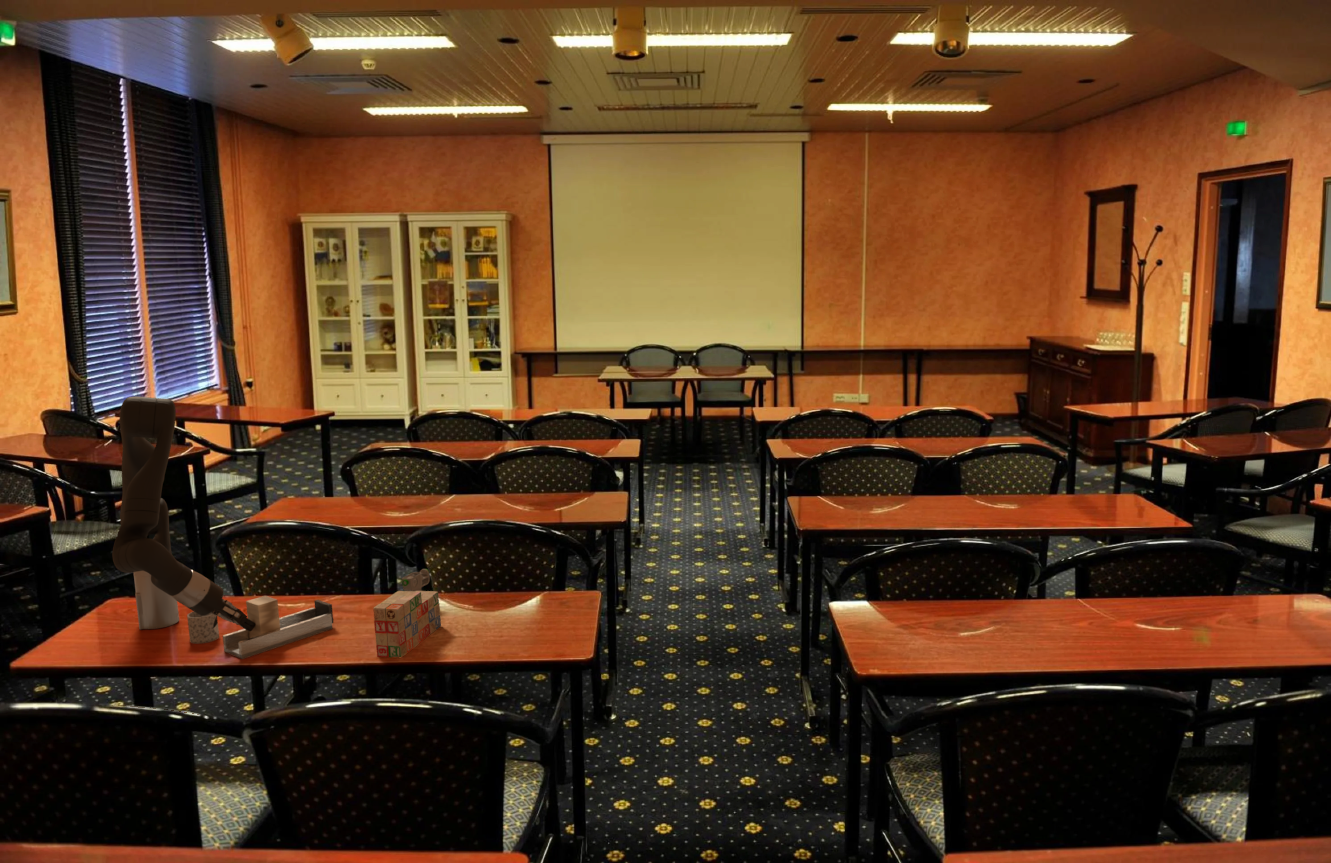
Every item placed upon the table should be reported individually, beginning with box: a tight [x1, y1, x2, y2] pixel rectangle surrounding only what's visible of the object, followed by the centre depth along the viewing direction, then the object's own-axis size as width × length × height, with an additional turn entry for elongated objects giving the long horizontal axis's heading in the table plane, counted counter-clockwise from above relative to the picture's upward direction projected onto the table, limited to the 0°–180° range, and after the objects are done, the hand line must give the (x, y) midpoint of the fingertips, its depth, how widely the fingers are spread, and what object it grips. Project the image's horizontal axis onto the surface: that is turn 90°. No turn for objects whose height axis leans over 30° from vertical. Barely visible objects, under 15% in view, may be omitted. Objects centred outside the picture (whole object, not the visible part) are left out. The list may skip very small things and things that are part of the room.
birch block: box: [245, 595, 280, 638], centre depth 237 cm, size 5×6×10 cm
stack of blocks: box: [373, 590, 442, 658], centre depth 236 cm, size 21×6×12 cm, turn 167°
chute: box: [222, 599, 334, 660], centre depth 240 cm, size 25×8×6 cm, turn 141°
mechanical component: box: [401, 568, 431, 592], centre depth 259 cm, size 3×10×10 cm, turn 161°
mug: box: [186, 611, 220, 645], centre depth 244 cm, size 10×7×7 cm, turn 37°
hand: (252, 627), depth 234 cm, fingers closed
